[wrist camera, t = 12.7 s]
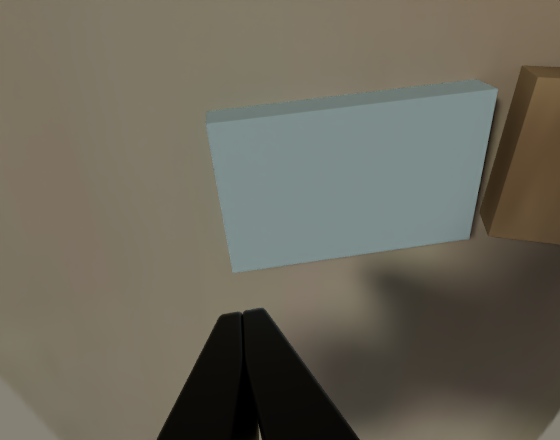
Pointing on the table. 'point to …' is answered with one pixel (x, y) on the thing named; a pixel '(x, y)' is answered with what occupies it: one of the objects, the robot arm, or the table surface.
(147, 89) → the table surface
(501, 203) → the domino
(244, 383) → the robot arm
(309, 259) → the blue-grey rectangular block
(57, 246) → the table surface
